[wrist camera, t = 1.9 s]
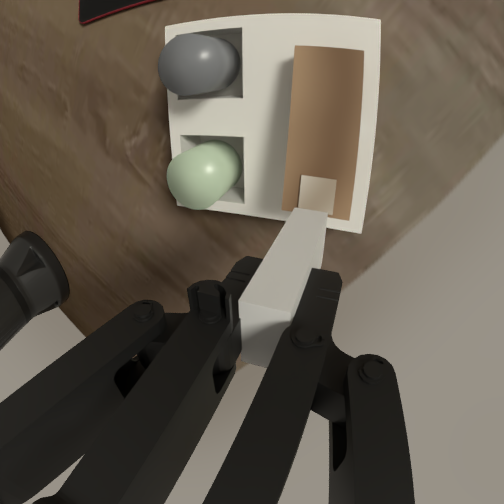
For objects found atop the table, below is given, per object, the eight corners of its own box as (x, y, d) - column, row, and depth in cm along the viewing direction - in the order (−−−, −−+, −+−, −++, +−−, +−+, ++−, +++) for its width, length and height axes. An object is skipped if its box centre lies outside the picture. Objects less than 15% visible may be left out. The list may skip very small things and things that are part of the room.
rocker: (286, 206, 20) (280, 210, 18) (299, 52, 16) (294, 44, 15) (349, 216, 19) (349, 221, 17) (364, 57, 15) (364, 49, 14)
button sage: (195, 187, 26) (170, 206, 23) (191, 138, 24) (163, 151, 20) (242, 193, 25) (221, 213, 21) (241, 140, 22) (219, 153, 19)
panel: (199, 189, 29) (169, 211, 25) (191, 30, 21) (154, 25, 17) (362, 211, 25) (360, 242, 21) (378, 29, 17) (381, 15, 13)
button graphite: (189, 92, 21) (159, 97, 18) (187, 40, 19) (157, 38, 16) (240, 90, 20) (217, 94, 17) (240, 35, 18) (215, 29, 15)
